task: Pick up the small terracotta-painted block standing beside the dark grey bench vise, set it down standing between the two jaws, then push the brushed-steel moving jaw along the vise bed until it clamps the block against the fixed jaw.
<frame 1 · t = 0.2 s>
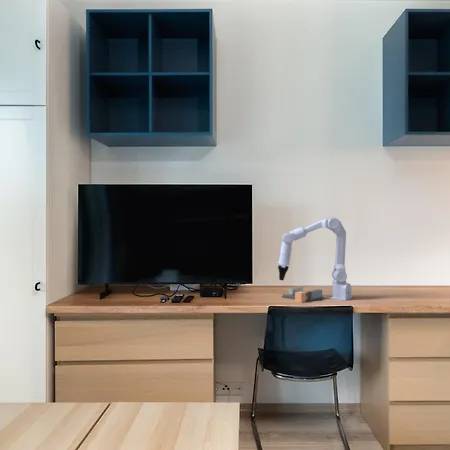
hand: (281, 279, 238), 10 cm above the table, tool pointing down, fingers open, 7 cm apart
moving jaw: (296, 291, 241), point 3 cm above the table, slide at 0.0 cm
vise: (305, 298, 237), on the table
block: (300, 301, 227), on the table
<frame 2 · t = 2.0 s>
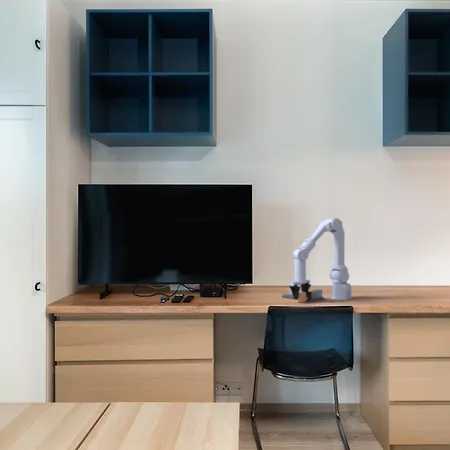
hand: (300, 298, 227), 2 cm above the table, tool pointing down, fingers open, 7 cm apart
nothing on the table moved.
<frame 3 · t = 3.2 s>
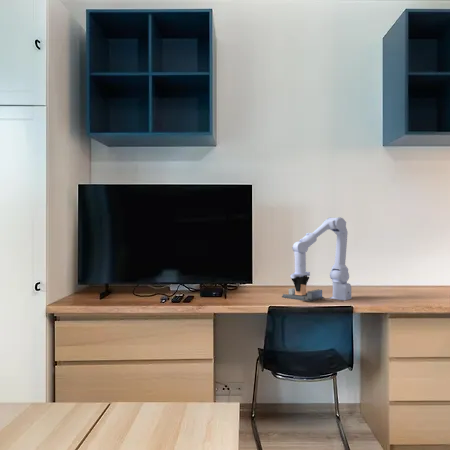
hand: (300, 290, 227), 6 cm above the table, tool pointing down, fingers closed on block, 4 cm apart
block: (300, 294, 227), point 4 cm above the table, touching gripper
everything else where it was.
when the fingers open (3 cm above the table, at t = 5.5 s): block stays where it is, resting on vise.
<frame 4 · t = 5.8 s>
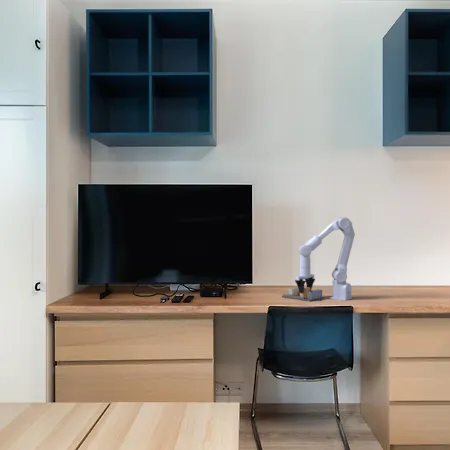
hand: (305, 292, 237), 3 cm above the table, tool pointing down, fingers open, 7 cm apart
block: (305, 296, 237), point 1 cm above the table, touching vise
everything else where it was.
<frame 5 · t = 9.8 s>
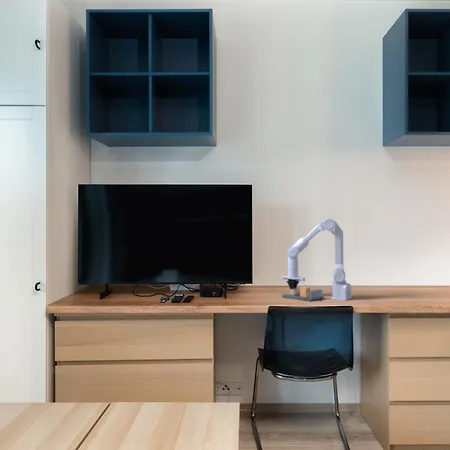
hand: (293, 293, 242), 2 cm above the table, tool pointing down, fingers closed
moving jaw: (297, 291, 240), point 3 cm above the table, slide at 0.9 cm, touching gripper
everything else where it was.
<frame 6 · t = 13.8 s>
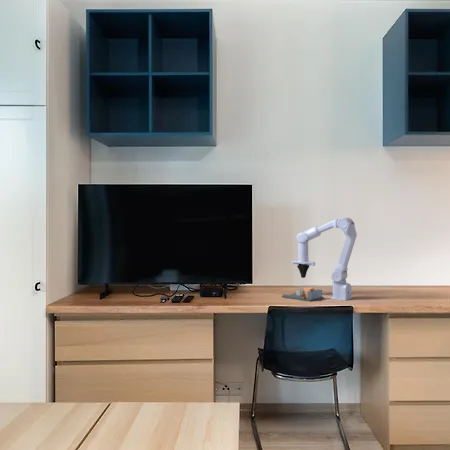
hand: (303, 277, 246), 10 cm above the table, tool pointing down, fingers closed
moving jaw: (303, 292, 237), point 3 cm above the table, slide at 5.0 cm
block: (309, 297, 235), point 1 cm above the table, touching vise
at the end: moving jaw slide at 5.0 cm; block 0.1 cm from the target spot on the vise, point 0.8 cm above the vise's base; block tilted 0° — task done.
